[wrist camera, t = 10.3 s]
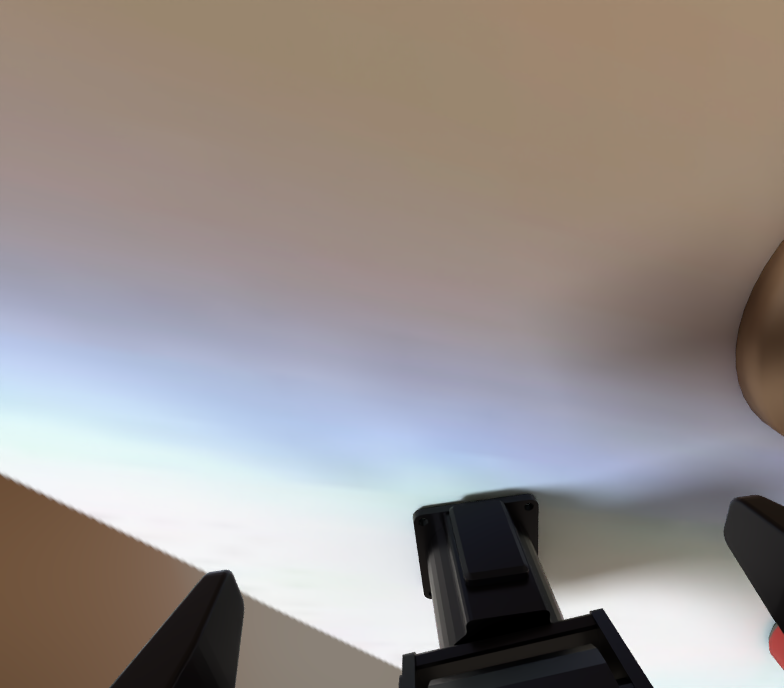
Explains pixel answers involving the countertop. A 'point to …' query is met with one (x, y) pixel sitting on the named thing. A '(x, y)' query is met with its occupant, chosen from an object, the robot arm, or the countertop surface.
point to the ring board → (764, 345)
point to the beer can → (777, 645)
